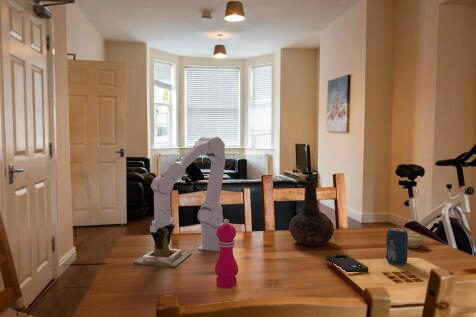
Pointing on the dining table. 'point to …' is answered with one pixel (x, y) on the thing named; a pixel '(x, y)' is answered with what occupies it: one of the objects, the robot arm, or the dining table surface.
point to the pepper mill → (226, 256)
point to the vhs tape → (347, 263)
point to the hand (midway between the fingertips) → (163, 246)
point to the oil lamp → (414, 239)
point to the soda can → (396, 246)
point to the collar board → (163, 259)
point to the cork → (165, 250)
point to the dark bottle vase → (311, 219)
